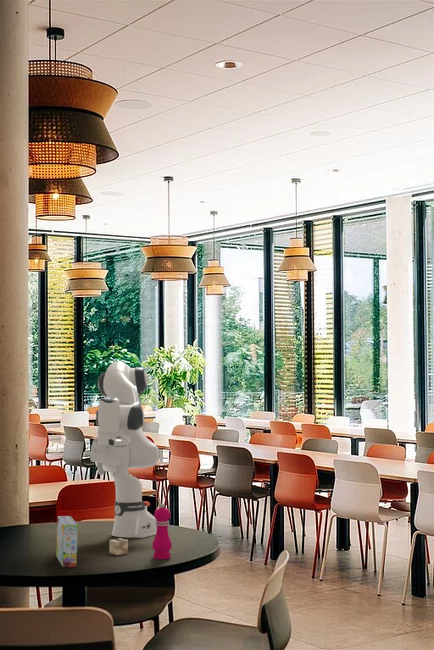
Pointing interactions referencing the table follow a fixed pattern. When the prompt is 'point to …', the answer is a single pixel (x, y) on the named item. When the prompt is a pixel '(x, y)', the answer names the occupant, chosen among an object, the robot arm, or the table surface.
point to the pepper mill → (162, 534)
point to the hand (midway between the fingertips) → (108, 475)
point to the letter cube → (118, 546)
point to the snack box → (67, 541)
